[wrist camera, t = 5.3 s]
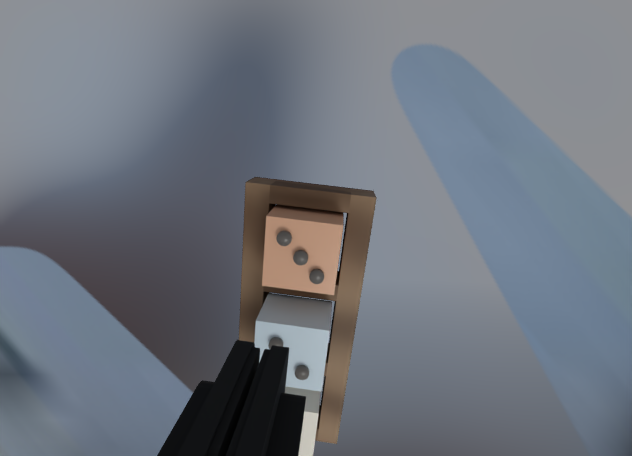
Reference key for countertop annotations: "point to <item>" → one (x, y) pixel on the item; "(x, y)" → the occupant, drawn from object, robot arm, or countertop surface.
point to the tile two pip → (296, 336)
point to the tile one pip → (307, 419)
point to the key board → (346, 295)
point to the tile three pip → (302, 249)
